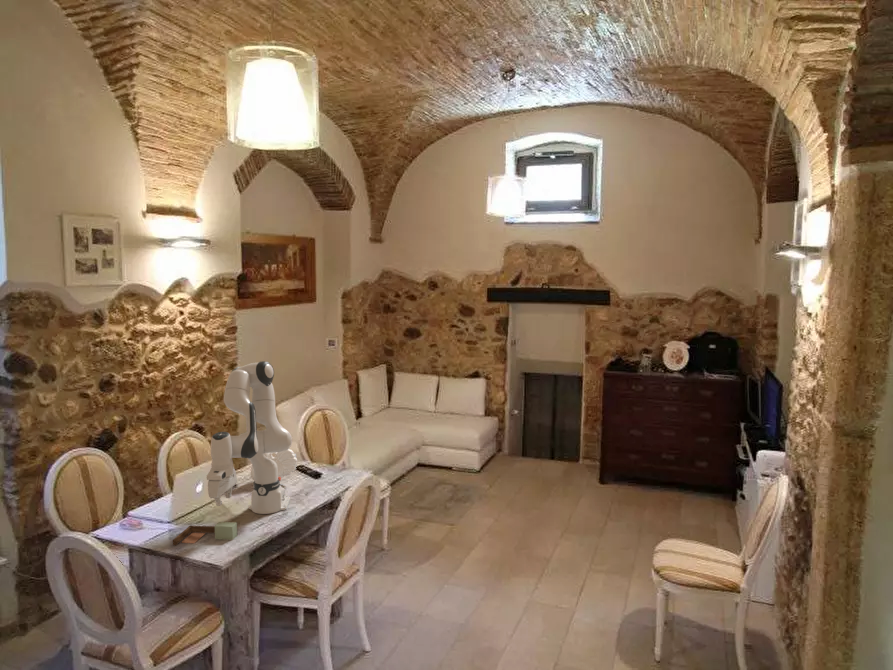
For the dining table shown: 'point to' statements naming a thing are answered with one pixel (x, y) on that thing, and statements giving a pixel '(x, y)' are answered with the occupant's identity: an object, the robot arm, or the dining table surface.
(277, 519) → the dining table surface
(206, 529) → the brown flat wooden frame
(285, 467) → the decorative rooster
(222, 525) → the sage block
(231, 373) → the robot arm
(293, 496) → the dining table surface
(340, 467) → the dining table surface
